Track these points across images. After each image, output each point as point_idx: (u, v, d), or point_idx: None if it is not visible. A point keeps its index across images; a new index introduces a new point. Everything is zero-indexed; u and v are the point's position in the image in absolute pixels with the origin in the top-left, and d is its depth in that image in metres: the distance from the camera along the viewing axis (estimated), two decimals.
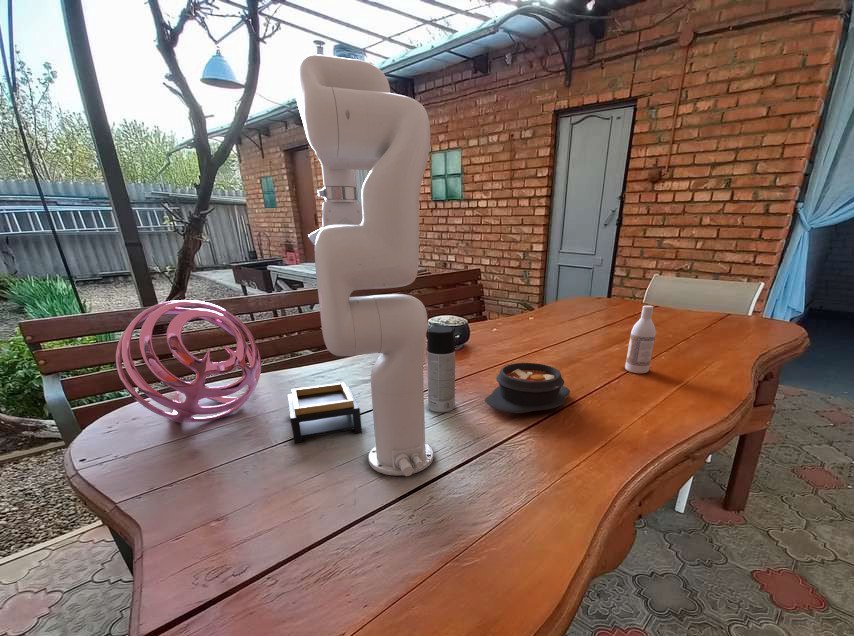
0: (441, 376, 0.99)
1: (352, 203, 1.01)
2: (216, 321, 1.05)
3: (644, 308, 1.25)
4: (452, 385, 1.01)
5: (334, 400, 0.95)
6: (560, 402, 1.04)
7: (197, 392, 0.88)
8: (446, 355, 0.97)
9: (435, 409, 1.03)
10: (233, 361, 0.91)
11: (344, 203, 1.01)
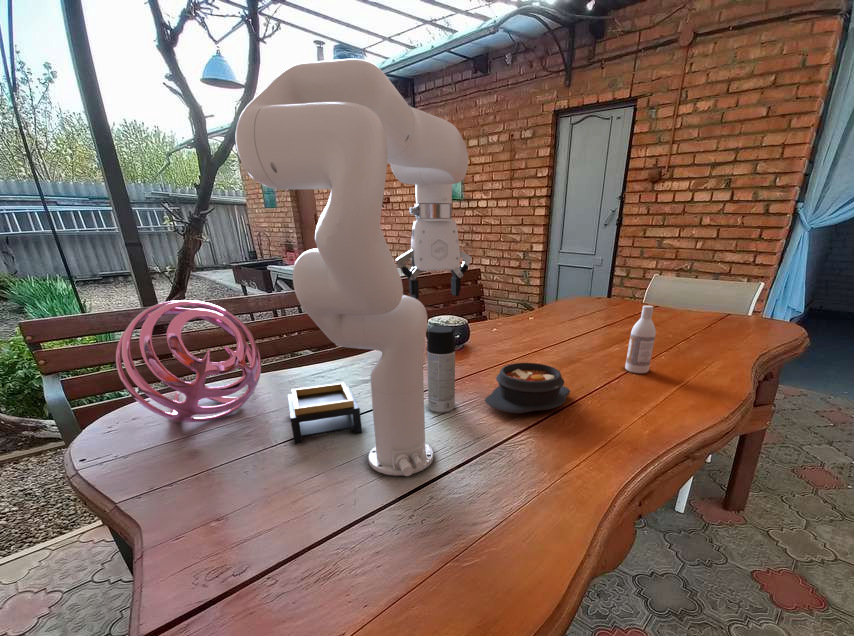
0: (441, 376, 0.99)
1: (448, 222, 0.88)
2: (216, 321, 1.05)
3: (644, 308, 1.25)
4: (452, 385, 1.01)
5: (334, 400, 0.95)
6: (560, 402, 1.04)
7: (197, 392, 0.88)
8: (447, 355, 0.97)
9: (435, 409, 1.03)
10: (233, 361, 0.91)
11: (439, 222, 0.88)
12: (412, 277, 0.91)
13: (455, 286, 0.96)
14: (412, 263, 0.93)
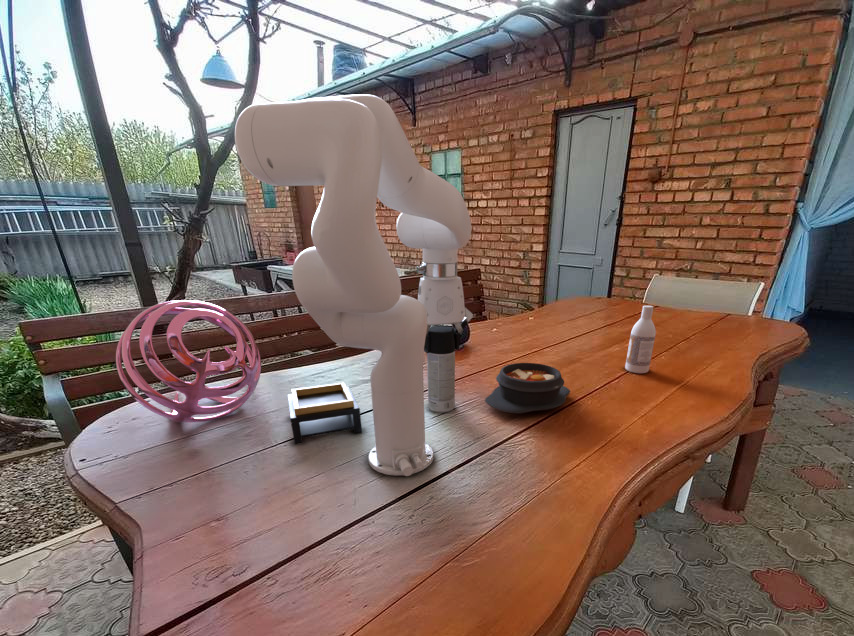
0: (441, 376, 0.99)
1: (453, 280, 0.92)
2: (216, 321, 1.05)
3: (644, 308, 1.25)
4: (452, 385, 1.01)
5: (334, 400, 0.95)
6: (560, 402, 1.04)
7: (197, 392, 0.88)
8: (446, 355, 0.97)
9: (435, 409, 1.03)
10: (233, 361, 0.91)
11: (445, 280, 0.91)
12: None
13: (455, 340, 0.99)
14: None
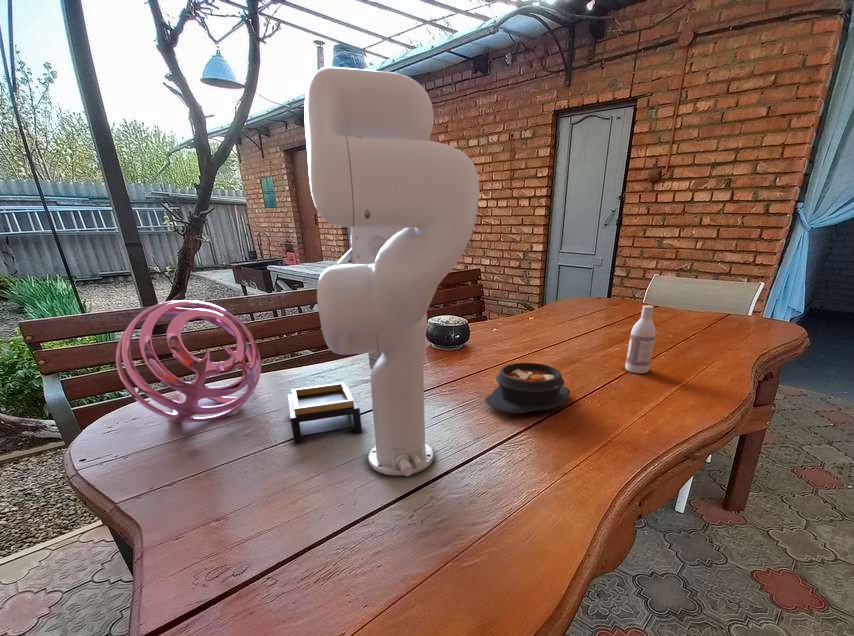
0: None
1: None
2: (216, 321, 1.05)
3: (644, 308, 1.25)
4: None
5: (334, 400, 0.95)
6: (560, 402, 1.04)
7: (197, 392, 0.88)
8: None
9: None
10: (233, 361, 0.91)
11: None
12: None
13: None
14: (353, 261, 0.87)
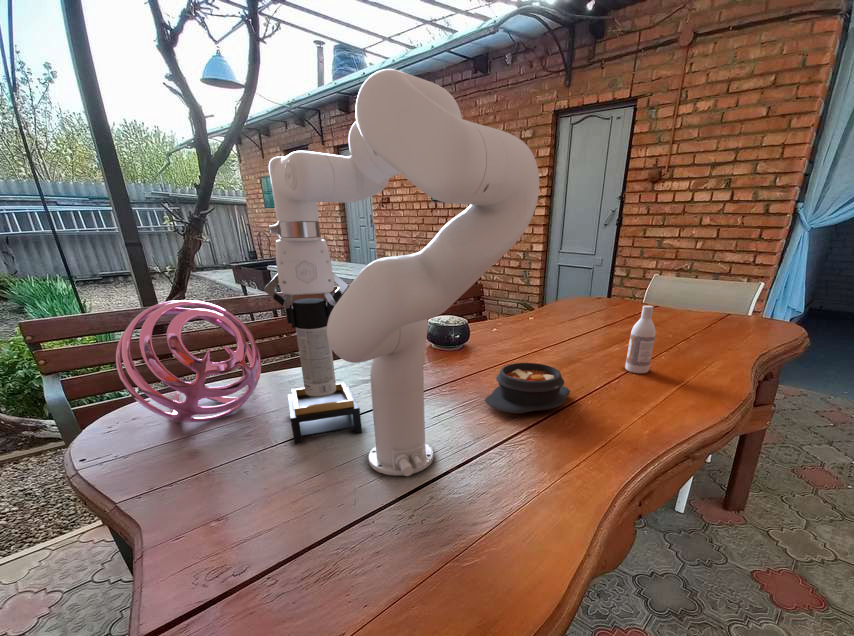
0: (311, 354, 0.87)
1: (314, 241, 0.80)
2: (216, 321, 1.05)
3: (644, 308, 1.25)
4: (327, 366, 0.89)
5: (334, 400, 0.95)
6: (560, 402, 1.04)
7: (197, 392, 0.88)
8: (315, 330, 0.85)
9: (310, 393, 0.91)
10: (233, 361, 0.91)
11: (303, 242, 0.79)
12: (286, 305, 0.83)
13: (328, 314, 0.87)
14: None
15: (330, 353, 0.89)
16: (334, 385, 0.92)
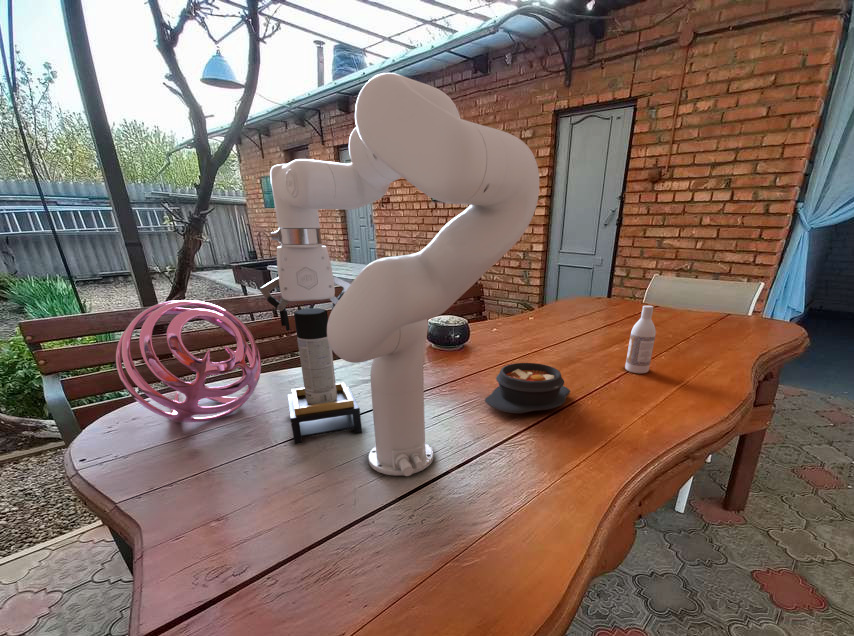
0: (312, 364, 0.87)
1: (314, 248, 0.80)
2: (216, 321, 1.05)
3: (644, 308, 1.25)
4: (328, 375, 0.90)
5: None
6: (560, 402, 1.04)
7: (197, 392, 0.88)
8: (316, 340, 0.86)
9: (311, 402, 0.91)
10: (233, 361, 0.91)
11: (304, 248, 0.79)
12: (279, 307, 0.83)
13: None
14: None
15: (331, 362, 0.90)
16: (335, 394, 0.93)
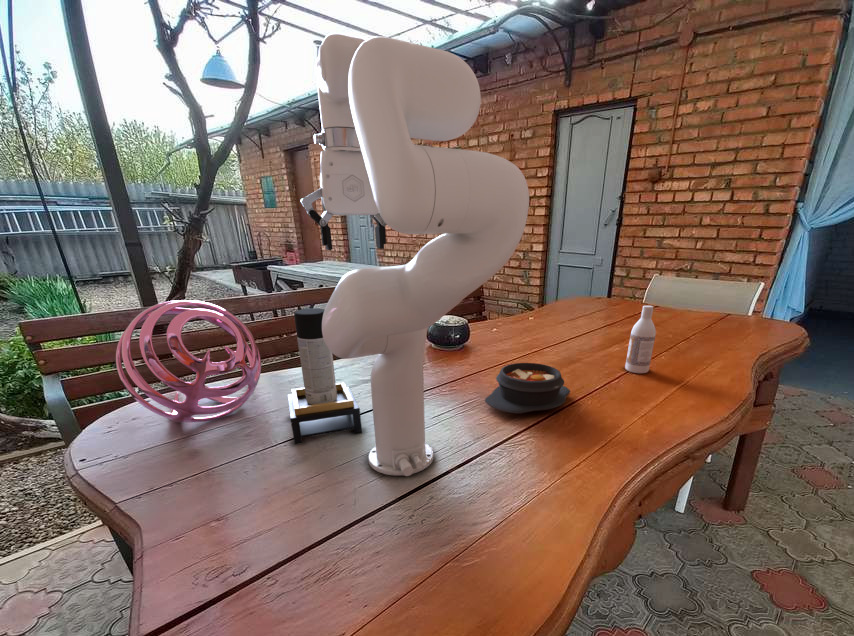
0: (312, 364, 0.87)
1: (362, 154, 0.73)
2: (216, 321, 1.05)
3: (644, 308, 1.25)
4: (328, 375, 0.90)
5: None
6: (560, 402, 1.04)
7: (197, 392, 0.88)
8: (316, 340, 0.86)
9: (311, 402, 0.91)
10: (233, 361, 0.91)
11: (351, 153, 0.72)
12: (322, 222, 0.75)
13: (379, 236, 0.80)
14: (324, 207, 0.77)
15: (331, 362, 0.90)
16: (335, 394, 0.93)
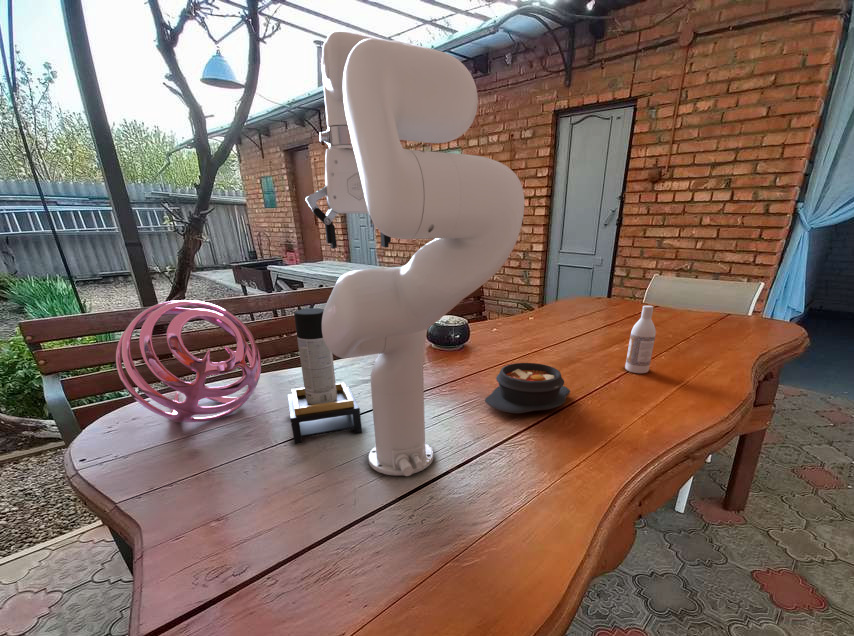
0: (312, 364, 0.87)
1: None
2: (216, 321, 1.05)
3: (644, 308, 1.25)
4: (328, 375, 0.90)
5: None
6: (560, 402, 1.04)
7: (197, 392, 0.88)
8: (316, 340, 0.86)
9: (311, 402, 0.91)
10: (233, 361, 0.91)
11: None
12: (326, 221, 0.75)
13: (383, 235, 0.80)
14: (329, 205, 0.77)
15: (331, 362, 0.90)
16: (335, 394, 0.93)
